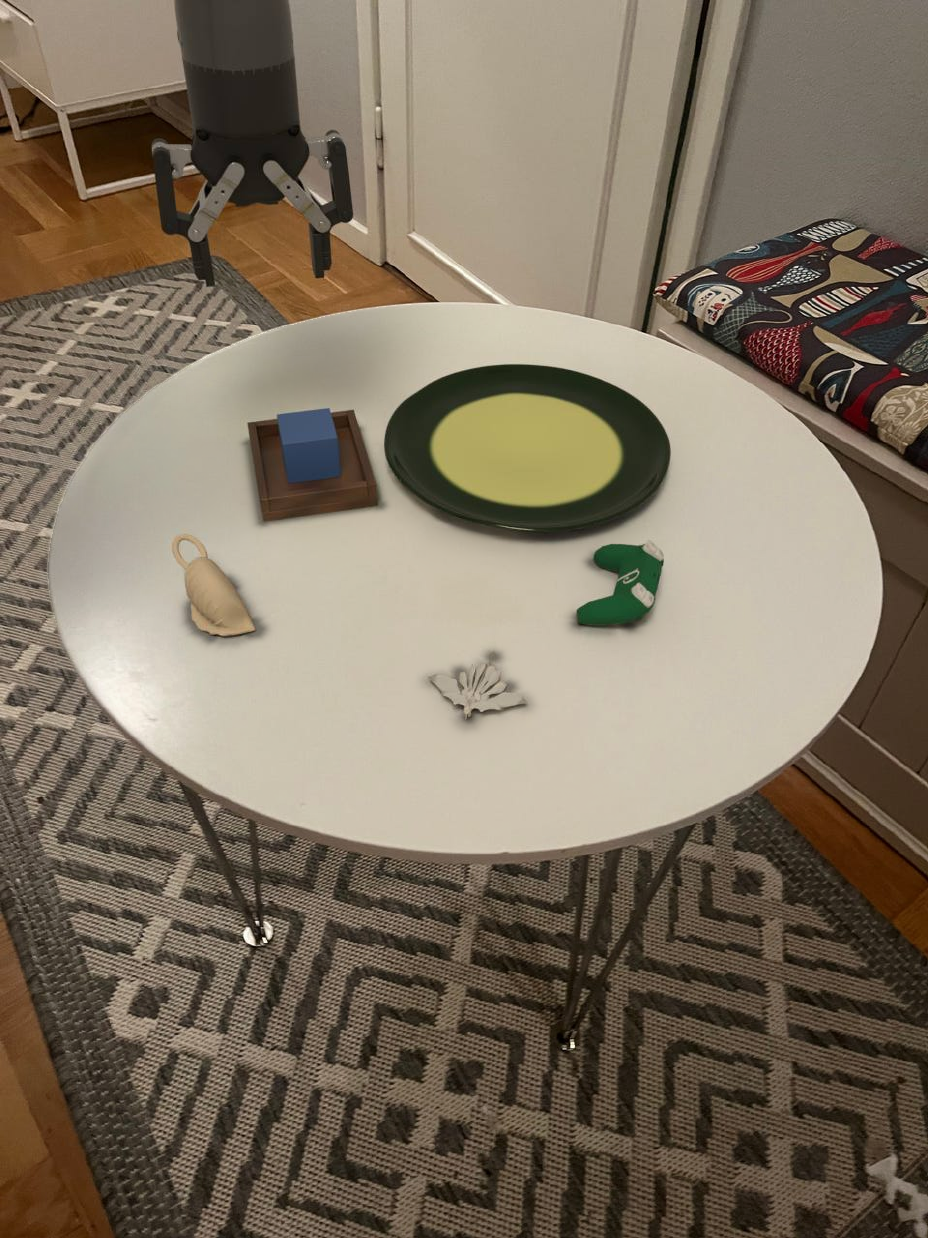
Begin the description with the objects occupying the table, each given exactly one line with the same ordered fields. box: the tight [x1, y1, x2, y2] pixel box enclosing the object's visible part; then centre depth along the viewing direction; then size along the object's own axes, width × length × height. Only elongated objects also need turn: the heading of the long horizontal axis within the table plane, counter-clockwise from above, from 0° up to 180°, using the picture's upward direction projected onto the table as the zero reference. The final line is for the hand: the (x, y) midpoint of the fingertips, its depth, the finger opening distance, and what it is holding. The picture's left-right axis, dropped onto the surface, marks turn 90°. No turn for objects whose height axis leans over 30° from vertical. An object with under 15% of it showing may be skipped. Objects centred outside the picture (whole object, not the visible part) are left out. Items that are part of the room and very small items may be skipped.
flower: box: [427, 652, 528, 720], centre depth 73 cm, size 8×8×3 cm
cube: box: [276, 407, 341, 484], centre depth 90 cm, size 5×5×4 cm
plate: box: [383, 363, 672, 533], centre depth 94 cm, size 28×28×2 cm
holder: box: [246, 409, 378, 522], centre depth 91 cm, size 11×13×2 cm
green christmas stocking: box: [576, 539, 665, 626], centre depth 80 cm, size 9×4×6 cm
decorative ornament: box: [171, 533, 257, 637], centre depth 77 cm, size 4×8×5 cm, turn 29°
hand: (265, 278), depth 76 cm, fingers open, 8 cm apart
